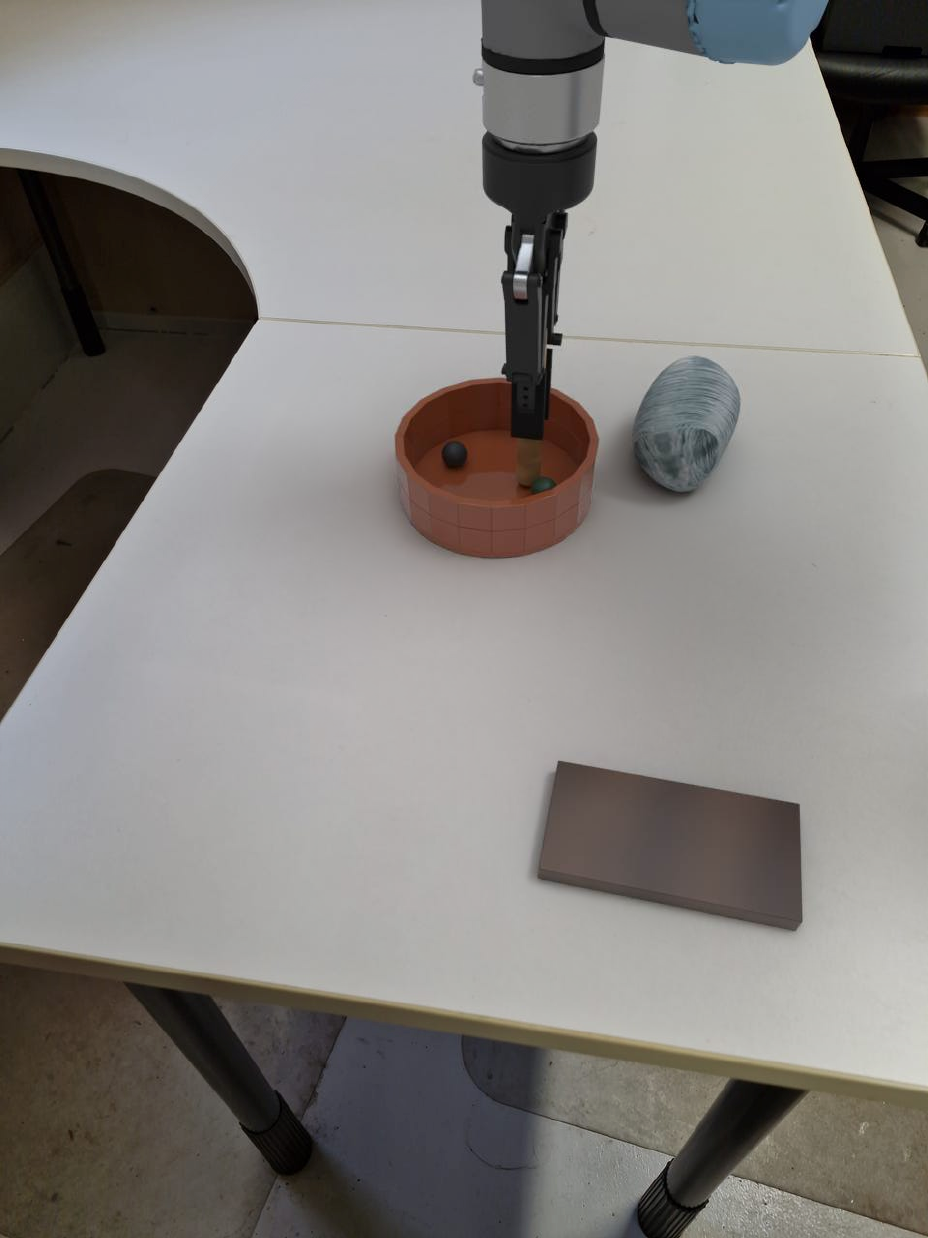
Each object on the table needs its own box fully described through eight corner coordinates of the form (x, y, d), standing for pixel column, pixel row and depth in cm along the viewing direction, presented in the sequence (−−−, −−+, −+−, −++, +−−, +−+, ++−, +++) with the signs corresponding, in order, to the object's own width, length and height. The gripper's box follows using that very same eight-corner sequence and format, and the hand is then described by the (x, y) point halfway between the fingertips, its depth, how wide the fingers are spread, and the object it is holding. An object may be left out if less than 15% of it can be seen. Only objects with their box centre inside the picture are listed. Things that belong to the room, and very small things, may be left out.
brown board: (794, 814, 57) (800, 803, 56) (796, 931, 52) (802, 922, 51) (556, 771, 60) (557, 760, 59) (537, 878, 55) (538, 868, 54)
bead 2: (553, 476, 77) (567, 488, 75) (539, 499, 78) (553, 511, 76) (534, 468, 76) (548, 480, 74) (520, 491, 76) (534, 504, 75)
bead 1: (475, 455, 80) (456, 448, 81) (466, 439, 78) (446, 432, 79) (461, 475, 80) (442, 467, 81) (452, 460, 78) (432, 452, 79)
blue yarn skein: (732, 494, 72) (705, 381, 69) (628, 510, 78) (598, 405, 74) (766, 437, 82) (744, 334, 78) (671, 454, 88) (646, 359, 84)
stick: (542, 471, 78) (549, 323, 67) (538, 487, 77) (544, 338, 66) (518, 468, 79) (521, 320, 67) (514, 484, 77) (516, 336, 66)
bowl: (603, 440, 83) (609, 388, 78) (578, 571, 72) (583, 519, 67) (427, 420, 86) (423, 368, 81) (377, 543, 75) (369, 491, 70)
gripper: (505, 83, 61) (504, 370, 79) (456, 176, 51) (468, 477, 69) (611, 88, 59) (586, 378, 77) (580, 184, 50) (559, 489, 68)
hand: (530, 425), depth 73 cm, fingers closed on stick, 2 cm apart
